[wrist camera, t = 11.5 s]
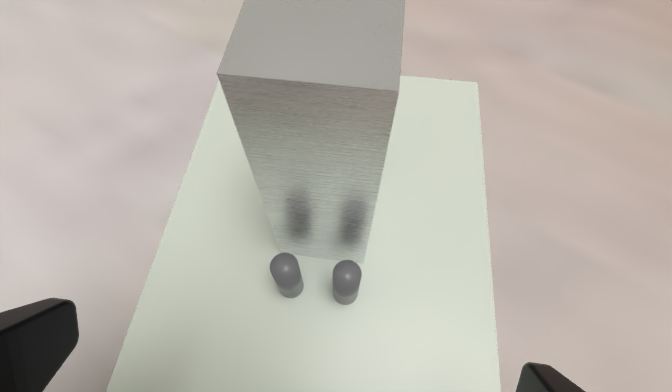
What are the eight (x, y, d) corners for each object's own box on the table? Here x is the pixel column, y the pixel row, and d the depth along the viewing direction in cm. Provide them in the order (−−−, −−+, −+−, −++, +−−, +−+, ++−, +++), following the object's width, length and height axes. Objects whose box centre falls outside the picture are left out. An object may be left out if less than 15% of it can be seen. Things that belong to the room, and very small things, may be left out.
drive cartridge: (280, 253, 16) (214, 73, 7) (296, 173, 18) (260, -47, 9) (364, 263, 16) (401, 91, 7) (372, 181, 18) (409, -35, 9)
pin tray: (106, 428, 14) (42, 435, 11) (230, 73, 22) (214, 21, 19) (496, 485, 13) (546, 510, 10) (471, 95, 22) (494, 44, 19)
